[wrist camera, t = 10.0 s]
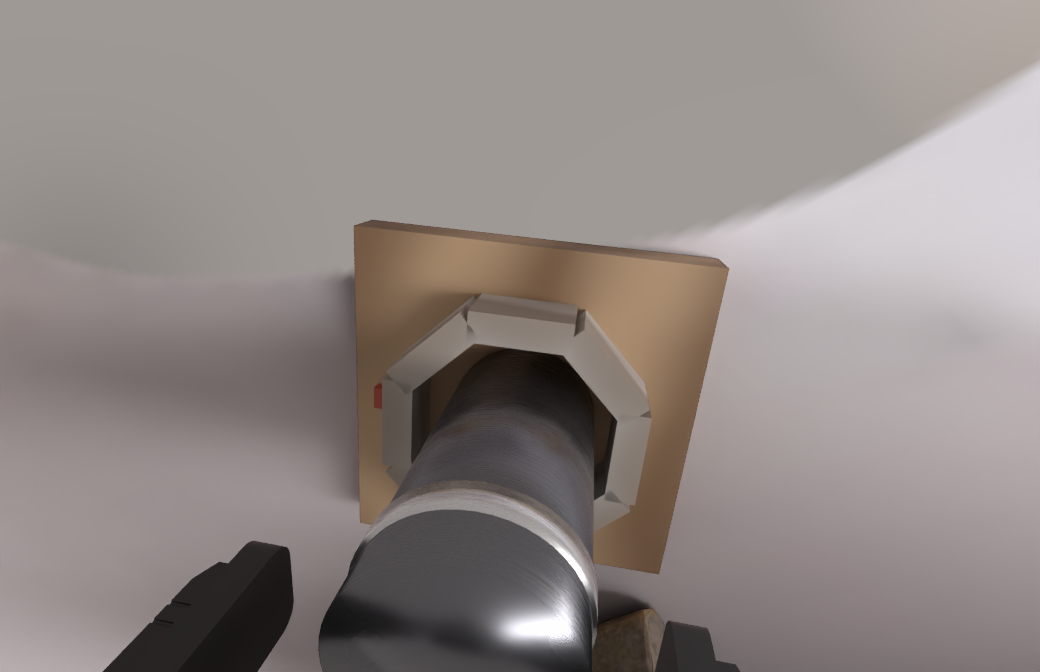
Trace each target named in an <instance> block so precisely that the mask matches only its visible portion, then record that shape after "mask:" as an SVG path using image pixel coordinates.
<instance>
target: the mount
mask: <svg viewBox="0 0 1040 672" xmlns="http://www.w3.org/2000/svg"><path fill="white" fill-rule="evenodd" d="M354 253H355V255H354V256H355V305H356V353H357V400H358V448H359V495H360V523H366V524H371V525H372V524H373V523H374V521H375V519H376V518H377V516H378V515H379V514H380V513H381V512H382V511H383V510H384V508H385V507H386V506H388V505H389V504H390V502H391V500H392V499H393V497H394V495H395V494H396V492H397V490H398V488H399V487H400V485H401V483H402V481H403V480H404V478H405V476H406V475H407V473H408V471H409V469H410V468H411V466H412V464H413V463H414V461H415V459H416V457H417V456H418V454H419V452H420V451H421V449H422V447H423V445H424V444H425V442H426V440H427V438H428V437H429V435H430V433H431V432H432V430H433V428H434V426H435V425H436V423H437V421H438V420H439V418H440V416H441V414H442V413H443V411H444V409H445V407H446V406H447V404H448V402H449V401H450V399H451V397H452V395H453V394H454V392H455V390H456V389H457V387H458V385H459V383H460V382H461V380H462V378H463V377H464V375H465V374H466V372H467V371H468V370H469V369H470V368H471V367H472V366H473V365H474V364H475V363H476V362H477V361H479V360H480V359H482V358H483V357H485V356H487V355H489V354H491V353H493V352H497V351H500V350H504V349H509V348H512V349H520V350H527V351H535V352H542V353H549V354H552V355H554V356H556V357H558V358H560V359H561V360H563V361H564V362H566V363H567V364H568V365H570V366H571V367H572V368H573V369H574V370H575V371H576V372H577V373H578V374H579V375H580V376H581V378H582V379H583V381H584V382H585V384H586V386H587V387H588V389H589V391H590V394H591V397H592V400H593V405H594V415H595V421H594V530H593V563H596V564H602V565H608V566H614V567H619V568H625V569H631V570H637V571H643V572H648V573H654V574H659V571H660V567H661V563H662V558H663V554H664V550H665V545H666V541H667V537H668V532H669V528H670V524H671V519H672V515H673V511H674V506H675V502H676V498H677V493H678V489H679V484H680V480H681V476H682V471H683V467H684V463H685V458H686V454H687V450H688V445H689V441H690V437H691V432H692V428H693V424H694V419H695V415H696V410H697V406H698V402H699V397H700V393H701V389H702V384H703V380H704V376H705V371H706V367H707V363H708V358H709V354H710V350H711V345H712V341H713V337H714V332H715V328H716V323H717V319H718V315H719V310H720V306H721V302H722V297H723V293H724V289H725V284H726V280H727V276H728V271H729V268H728V267H727V266H726V265H725V264H724V263H723V262H721V261H720V260H719V259H715V258H706V257H697V256H688V255H679V254H670V253H661V252H653V251H644V250H635V249H626V248H617V247H608V246H599V245H590V244H582V243H573V242H564V241H554V240H546V239H537V238H528V237H519V236H511V235H501V234H492V233H484V232H474V231H465V230H457V229H449V228H448V229H447V228H440V227H431V226H422V225H413V224H404V223H395V222H386V221H378V220H371V221H368V222H364V223H361V224H358V225H355V226H354Z"/></svg>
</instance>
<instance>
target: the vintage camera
mask: <svg viewBox="0 0 1040 672" xmlns="http://www.w3.org/2000/svg"><path fill="white" fill-rule="evenodd" d="M664 630H665V625H664V623H663V622H662V620H661V618H660V617H659V616H658V614H657V613H656V612H655V610H654V609H653V608H651V609H643V610H640V611H637V612H634V613H630V614H627V615H624V616H621V617H617V618H614V619H611V620H608V621H606V622H603V623H600V624H598V625H597V636H596V639H595V643H594V646H593V649H592V672H655V668H656V664H657V659H658V655H659V651H660V647H661V643H662V639H663V635H664Z"/></svg>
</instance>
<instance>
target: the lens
mask: <svg viewBox="0 0 1040 672" xmlns="http://www.w3.org/2000/svg"><path fill="white" fill-rule="evenodd" d="M594 421H595V415H594V405H593V400H592V397H591V394H590V391H589V389H588V387H587V386H586V384H585V382H584V381H583V379H582V378H581V376H580V375H579V374H578V373H577V372H576V371H575V370H574V369H573V368H572V367H571V366H570V365H568V364H567V363H566V362H564V361H563V360H561V359H560V358H558V357H556V356H554V355H552V354H549V353H542V352H535V351H527V350H520V349H512V348H509V349H504V350H500V351H497V352H493V353H491V354H489V355H487V356H485V357H483V358H482V359H480V360H479V361H477V362H476V363H475V364H474V365H473V366H472V367H471V368H470V369H469V370H468V371H467V372H466V374H465V375H464V377H463V378H462V380H461V382H460V383H459V385H458V387H457V389H456V390H455V392H454V394H453V395H452V397H451V399H450V401H449V402H448V404H447V406H446V407H445V409H444V411H443V413H442V414H441V416H440V418H439V420H438V421H437V423H436V425H435V426H434V428H433V430H432V432H431V433H430V435H429V437H428V438H427V440H426V442H425V444H424V445H423V447H422V449H421V451H420V452H419V454H418V456H417V457H416V459H415V461H414V463H413V464H412V466H411V468H410V469H409V471H408V473H407V475H406V476H405V478H404V480H403V481H402V483H401V485H400V487H399V488H398V490H397V492H396V494H395V495H394V497H393V499H392V500H391V502H390V504H389V505H388V506H386V507H385V508H384V510H383V511H382V512H381V513H380V514H379V515H378V516H377V518H376V519H375V521H374V523H373V524H372V526H371V527H370V529H369V531H368V532H367V534H366V536H365V537H364V539H363V541H362V542H361V544H360V546H359V547H358V549H357V551H356V552H355V555H354V557H353V559H352V562H351V564H350V568H349V573H348V576H347V578H346V580H345V581H344V583H343V585H342V586H341V588H340V590H339V592H338V593H337V595H336V597H335V598H334V600H333V602H332V604H331V605H330V607H329V609H328V610H327V612H326V614H325V617H324V619H323V622H322V624H321V629H320V634H319V649H318V650H319V657H320V663H321V667H322V670H323V672H592V649H593V646H594V643H595V639H596V636H597V625H598V588H597V577H596V573H595V568H594V565H593V530H594Z"/></svg>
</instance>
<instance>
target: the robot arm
mask: <svg viewBox="0 0 1040 672" xmlns="http://www.w3.org/2000/svg"><path fill="white" fill-rule="evenodd" d="M293 602H294V599H293V586H292V573H291V560H290V552H289V549H288V548H287V547H284V546H278V545H273V544H268V543H262V542H257V541H251V542H249V543H247V544H246V545H245V546H244V547H243V548H242V549H241V550H240V551H239V552H238V554H237V555H236V556H235V557H234V558H233V559H232V560H231V561H230V562H229V563H228V564H227V563H222V562H218V563H217V564H215V565H214V566H212V567H210V568H209V569H207V570H206V571H204V572H202V573H201V574H199V575H198V576H196V577H194V578H193V579H192V580H191V581H190V582H189V583H188V584H187V585H186V586H185V587H184V588H183V589H182V590H181V591H180V592H179V593H178V594H177V595H176V596H175V597H174V598H173V599H172V602H171V604H170V605H167V606H166V607H165V608H164V609H163V610H162V611H161V612H160V613H159V614H158V615H157V616H156V617H155V618H154V621H153V623H149V624H148V625H147V626H146V627H145V628H144V630H143V631H142V632H141V633H140V634H139V635H138V636H137V637H136V638H135V639H134V640H133V641H132V642H131V643H130V644H129V645H128V646H127V647H126V648H125V649H124V650H123V651H122V652H121V653H120V654H119V655H118V657H117V658H116V659H115V660H114V661H113V662H112V663H111V664H110V665H109V666H108V667H107V668H106V669H105V670H104V671H103V672H257V671H258V670H259V668H260V667H261V665H262V664H263V662H264V661H265V659H266V658H267V656H268V655H269V653H270V652H271V650H272V649H273V647H274V646H275V644H276V643H277V641H278V640H279V638H280V637H281V635H282V634H283V632H284V631H285V629H286V627H287V625H288V622H289V620H290V617H291V614H292V609H293ZM655 672H740V671H739V669H738V668H737V666H736V665H735V664H730V663H725V662H720V661H716V660H715V655H714V651H713V646H712V641H711V637H710V633H709V631H708V629H707V628H704V627H698V626H693V625H688V624H683V623H677V622H672V621H668V622H667V624H666V627H665V630H664V635H663V639H662V643H661V647H660V651H659V655H658V659H657V664H656V668H655Z"/></svg>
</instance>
